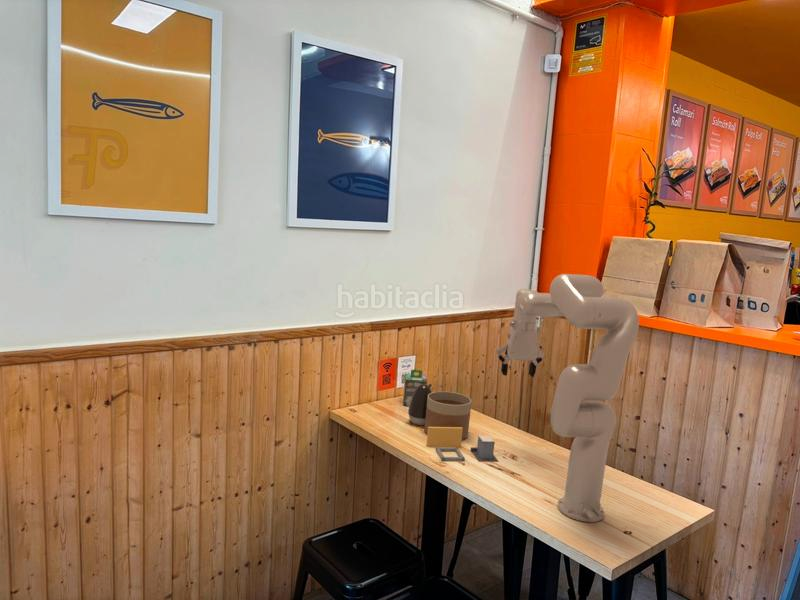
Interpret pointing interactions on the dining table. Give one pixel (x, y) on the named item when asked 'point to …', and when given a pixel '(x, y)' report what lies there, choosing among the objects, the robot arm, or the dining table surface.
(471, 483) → the dining table surface
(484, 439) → the plug
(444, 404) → the planter
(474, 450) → the dark grey lipped plate
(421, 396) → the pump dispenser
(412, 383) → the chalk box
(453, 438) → the port
